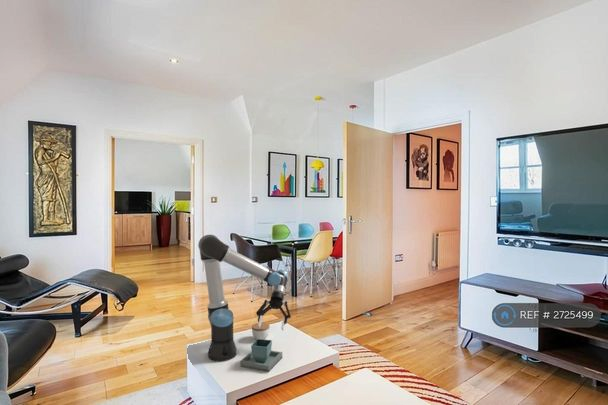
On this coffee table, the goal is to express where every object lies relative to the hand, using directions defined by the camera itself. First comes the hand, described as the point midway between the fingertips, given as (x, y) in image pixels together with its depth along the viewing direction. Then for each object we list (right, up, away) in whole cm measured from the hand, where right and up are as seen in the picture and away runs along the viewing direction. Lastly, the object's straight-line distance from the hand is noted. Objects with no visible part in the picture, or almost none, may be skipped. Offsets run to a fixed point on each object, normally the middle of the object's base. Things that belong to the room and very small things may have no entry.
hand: (270, 328), depth 183 cm
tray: (-3, -13, -13) cm, 18 cm away
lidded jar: (-8, -13, +18) cm, 23 cm away
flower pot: (-3, -12, -13) cm, 18 cm away
